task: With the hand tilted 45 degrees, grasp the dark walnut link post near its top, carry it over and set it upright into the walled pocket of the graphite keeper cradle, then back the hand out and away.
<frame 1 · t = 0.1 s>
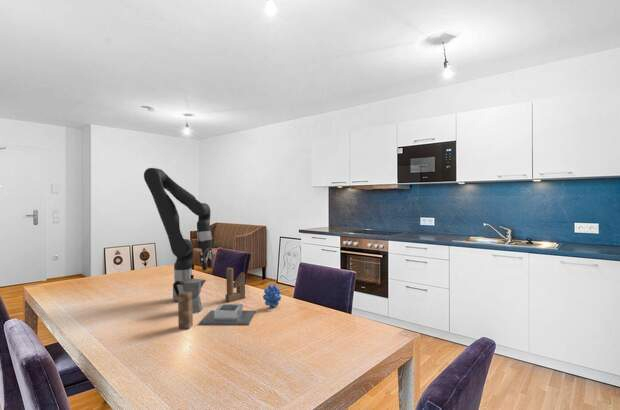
hand: (207, 268, 188), 17 cm above the table, tool pointing down, fingers open, 8 cm apart
keeper cradle: (228, 318, 159), on the table
coffeepot: (190, 311, 170), on the table
brown wooden pegged bracket: (235, 300, 188), on the table
walnut link post: (185, 327, 148), on the table
grapes: (273, 308, 174), on the table
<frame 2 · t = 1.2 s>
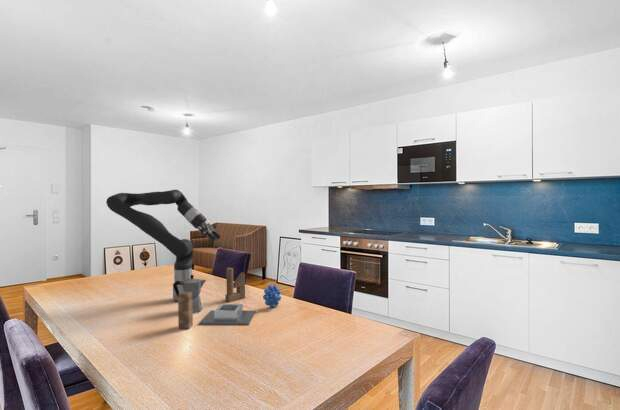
hand: (217, 239, 181), 34 cm above the table, tool tilted 45°, fingers open, 8 cm apart
nothing on the table moved.
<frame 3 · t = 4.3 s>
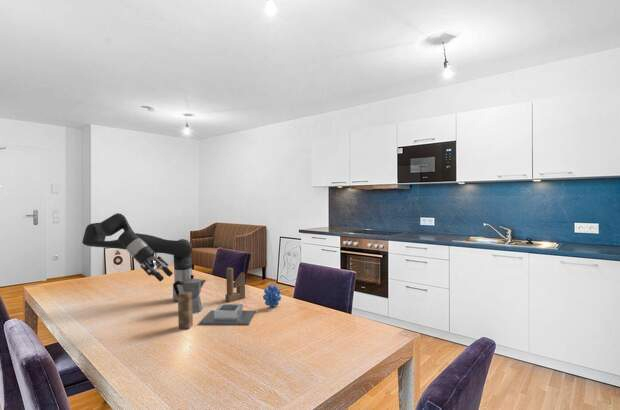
hand: (166, 277, 148), 22 cm above the table, tool tilted 45°, fingers open, 8 cm apart
nothing on the table moved.
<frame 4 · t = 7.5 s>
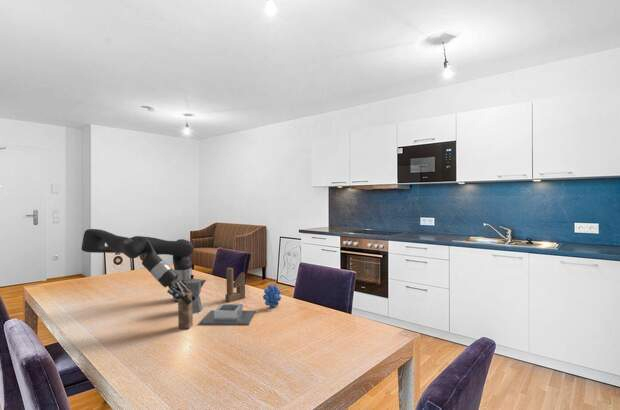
hand: (191, 301, 148), 11 cm above the table, tool tilted 45°, fingers closed on walnut link post, 4 cm apart
walnut link post: (185, 327, 148), on the table, touching gripper
everything else where it was.
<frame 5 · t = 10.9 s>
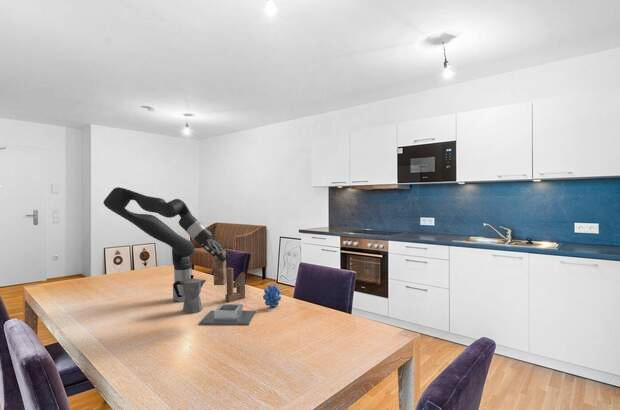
hand: (226, 259, 155), 28 cm above the table, tool tilted 45°, fingers closed on walnut link post, 4 cm apart
walnut link post: (220, 283, 156), point 17 cm above the table, touching gripper
everything else where it was.
when the fingers open (14 cm above the table, at t = 14.4 s): walnut link post drops 1 cm, resting on keeper cradle.
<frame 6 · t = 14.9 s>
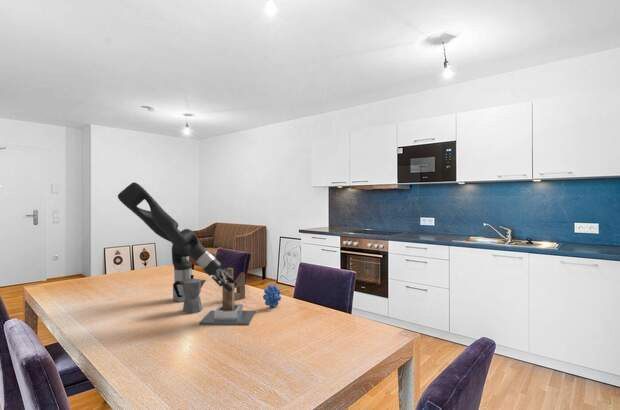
hand: (233, 287, 159), 14 cm above the table, tool tilted 45°, fingers open, 8 cm apart
walnut link post: (228, 316, 159), point 1 cm above the table, touching keeper cradle
everything else where it was.
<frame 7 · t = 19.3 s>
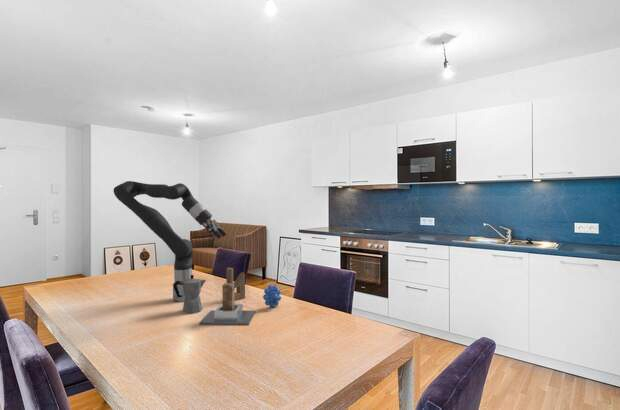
hand: (222, 236, 173), 37 cm above the table, tool tilted 45°, fingers open, 8 cm apart
nothing on the table moved.
at the end: walnut link post 0.1 cm off-centre on the keeper cradle, point 1.0 cm above the keeper cradle's base; walnut link post tilted 0°; the gripper is holding nothing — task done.
